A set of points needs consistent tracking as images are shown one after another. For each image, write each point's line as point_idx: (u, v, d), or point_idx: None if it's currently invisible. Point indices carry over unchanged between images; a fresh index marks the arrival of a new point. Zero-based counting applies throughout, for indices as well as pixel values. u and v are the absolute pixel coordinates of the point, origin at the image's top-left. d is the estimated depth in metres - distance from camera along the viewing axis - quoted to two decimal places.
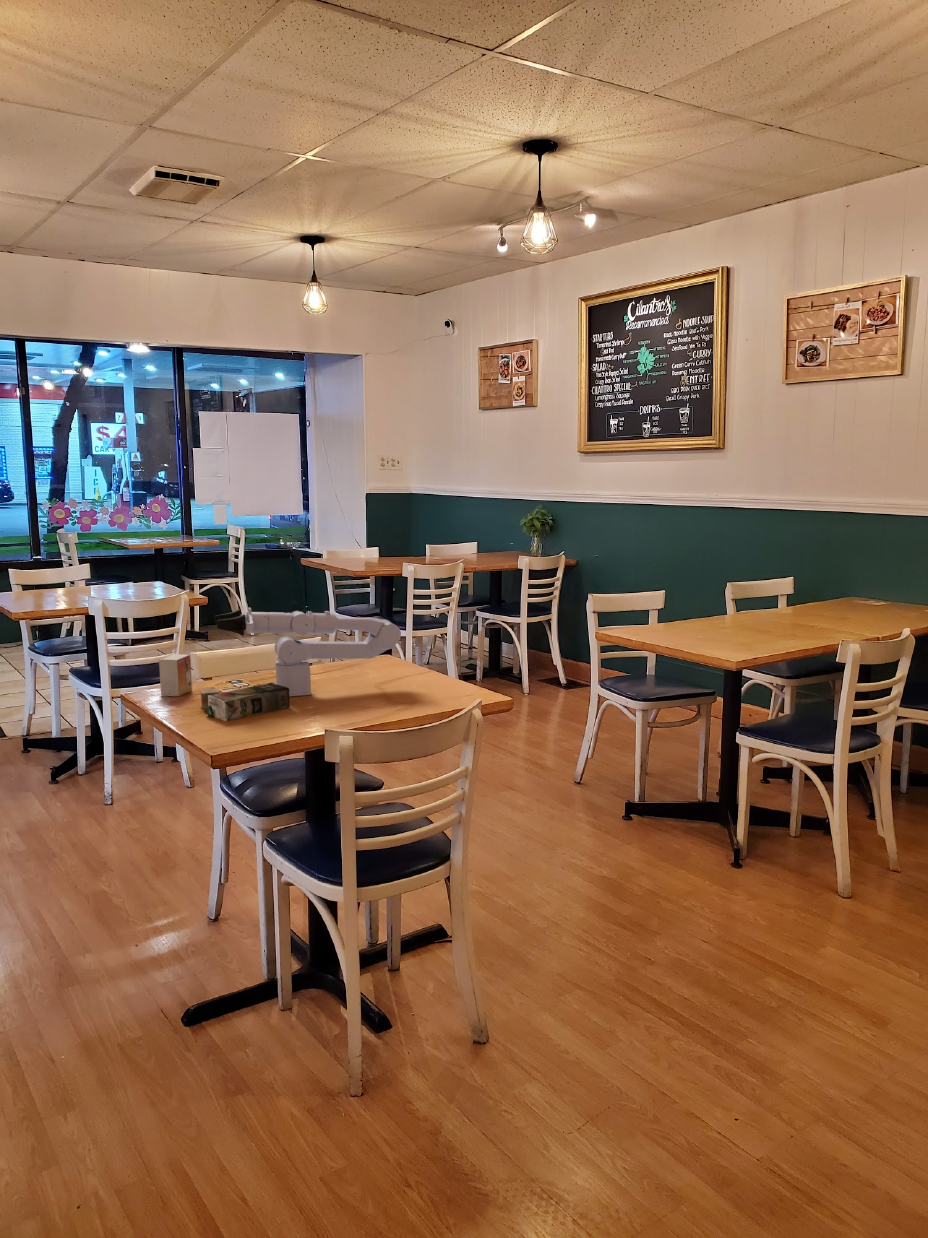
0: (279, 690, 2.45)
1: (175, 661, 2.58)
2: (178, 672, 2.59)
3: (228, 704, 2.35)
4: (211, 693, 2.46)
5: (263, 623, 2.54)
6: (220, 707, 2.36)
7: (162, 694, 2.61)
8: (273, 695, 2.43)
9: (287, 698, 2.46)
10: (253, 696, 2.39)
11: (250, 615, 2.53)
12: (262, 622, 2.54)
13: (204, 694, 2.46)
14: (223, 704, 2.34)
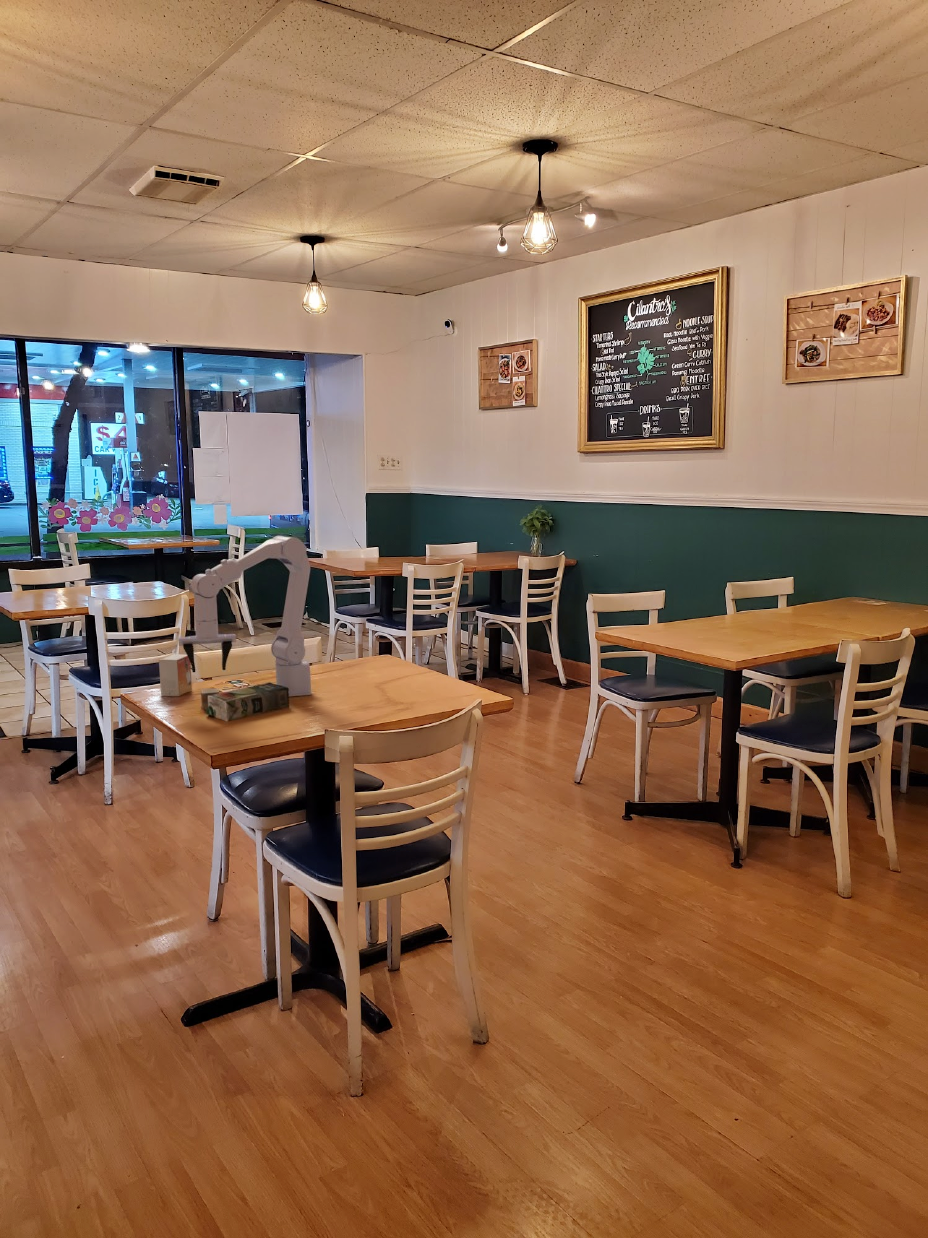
0: (279, 690, 2.45)
1: (175, 661, 2.58)
2: (178, 672, 2.59)
3: (229, 704, 2.35)
4: (211, 693, 2.46)
5: (217, 624, 2.46)
6: (221, 707, 2.36)
7: (162, 694, 2.61)
8: (273, 695, 2.44)
9: (287, 698, 2.47)
10: (254, 696, 2.40)
11: (217, 638, 2.44)
12: (217, 624, 2.46)
13: (204, 694, 2.46)
14: (224, 704, 2.34)
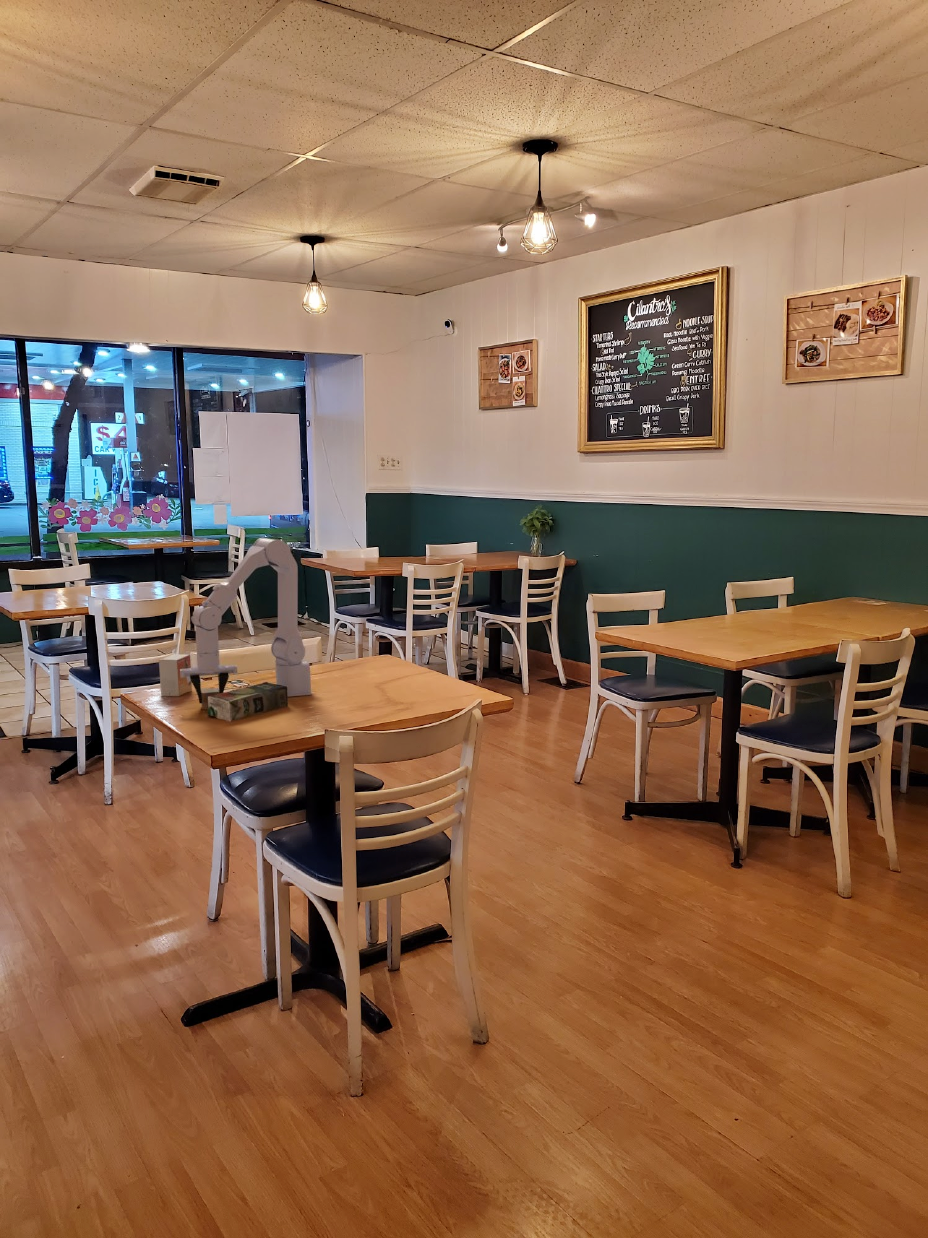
0: (278, 689, 2.46)
1: (175, 661, 2.58)
2: (178, 672, 2.59)
3: (232, 704, 2.35)
4: (211, 693, 2.46)
5: None
6: (224, 707, 2.35)
7: (162, 694, 2.61)
8: (273, 694, 2.44)
9: (285, 696, 2.48)
10: (255, 695, 2.40)
11: (219, 670, 2.46)
12: None
13: (204, 694, 2.45)
14: (227, 704, 2.34)
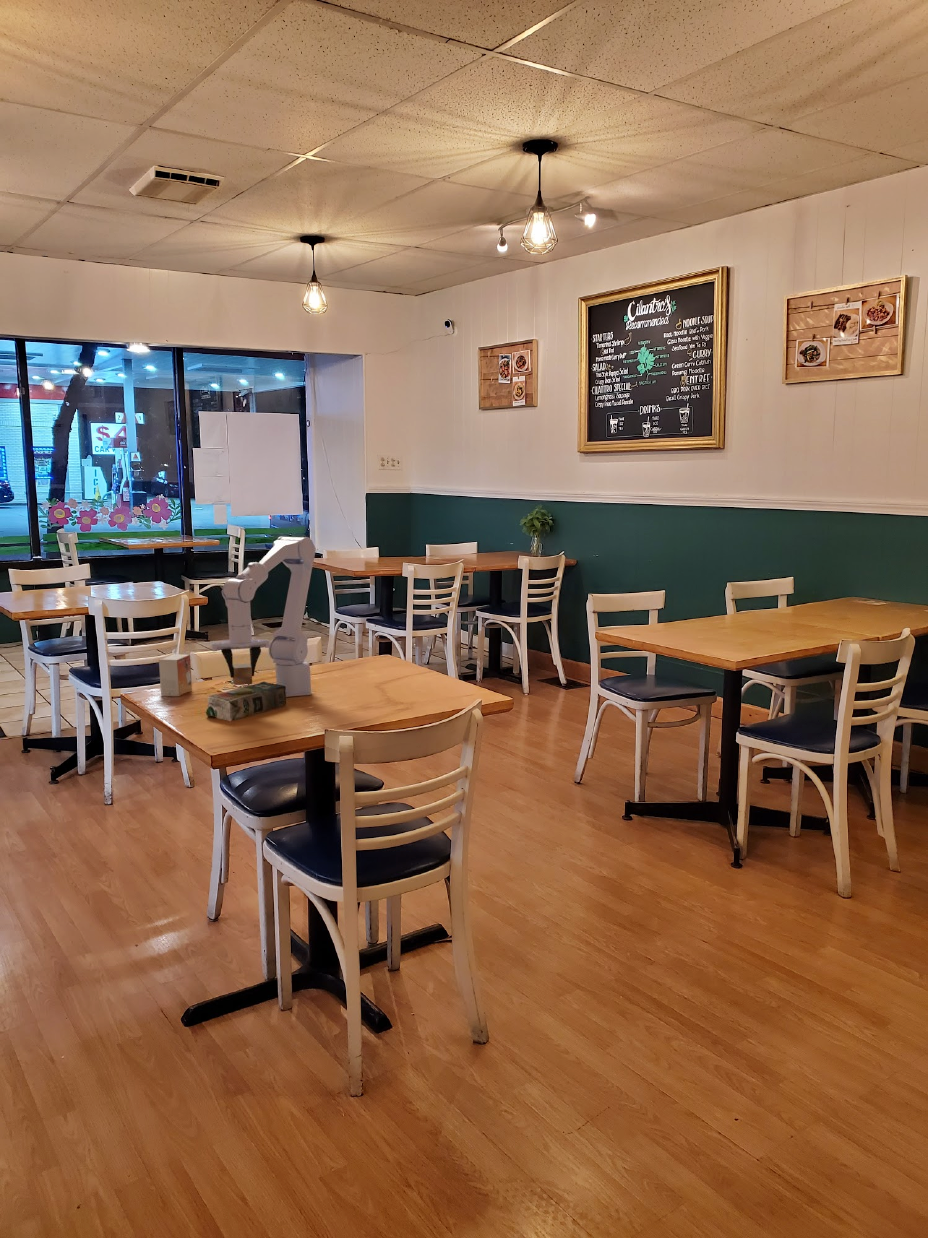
0: (277, 688, 2.47)
1: (175, 661, 2.58)
2: (178, 672, 2.59)
3: (232, 704, 2.35)
4: (243, 668, 2.42)
5: None
6: (223, 707, 2.36)
7: (162, 694, 2.61)
8: (272, 693, 2.45)
9: (284, 696, 2.49)
10: (254, 695, 2.41)
11: (251, 644, 2.41)
12: None
13: (236, 669, 2.41)
14: (228, 704, 2.34)
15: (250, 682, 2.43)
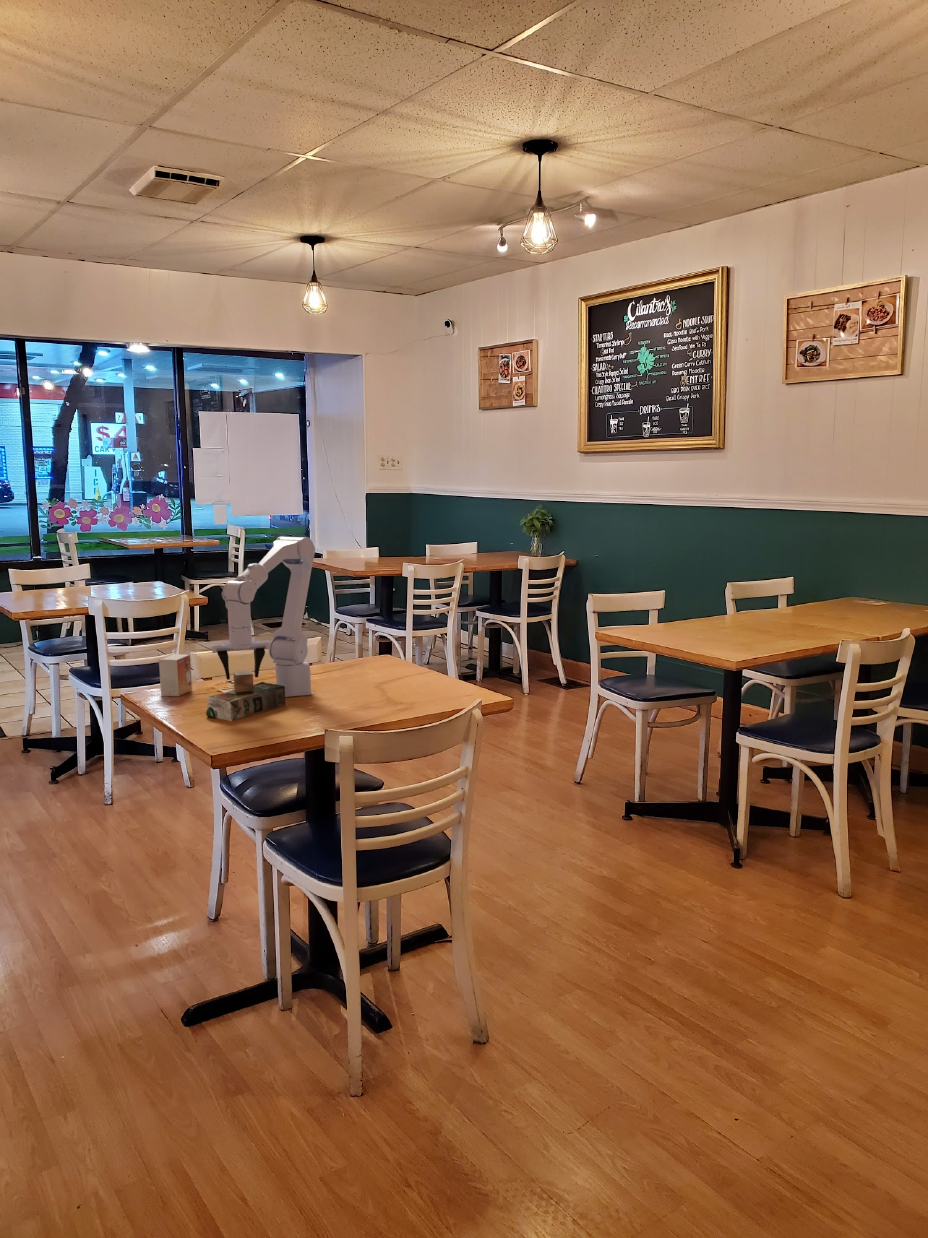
0: (276, 688, 2.47)
1: (175, 661, 2.58)
2: (178, 672, 2.59)
3: (233, 705, 2.35)
4: (244, 675, 2.42)
5: None
6: (224, 708, 2.36)
7: (162, 694, 2.61)
8: (271, 693, 2.45)
9: (283, 696, 2.49)
10: (254, 695, 2.41)
11: (251, 645, 2.41)
12: None
13: (237, 676, 2.41)
14: (228, 704, 2.34)
15: (251, 689, 2.43)
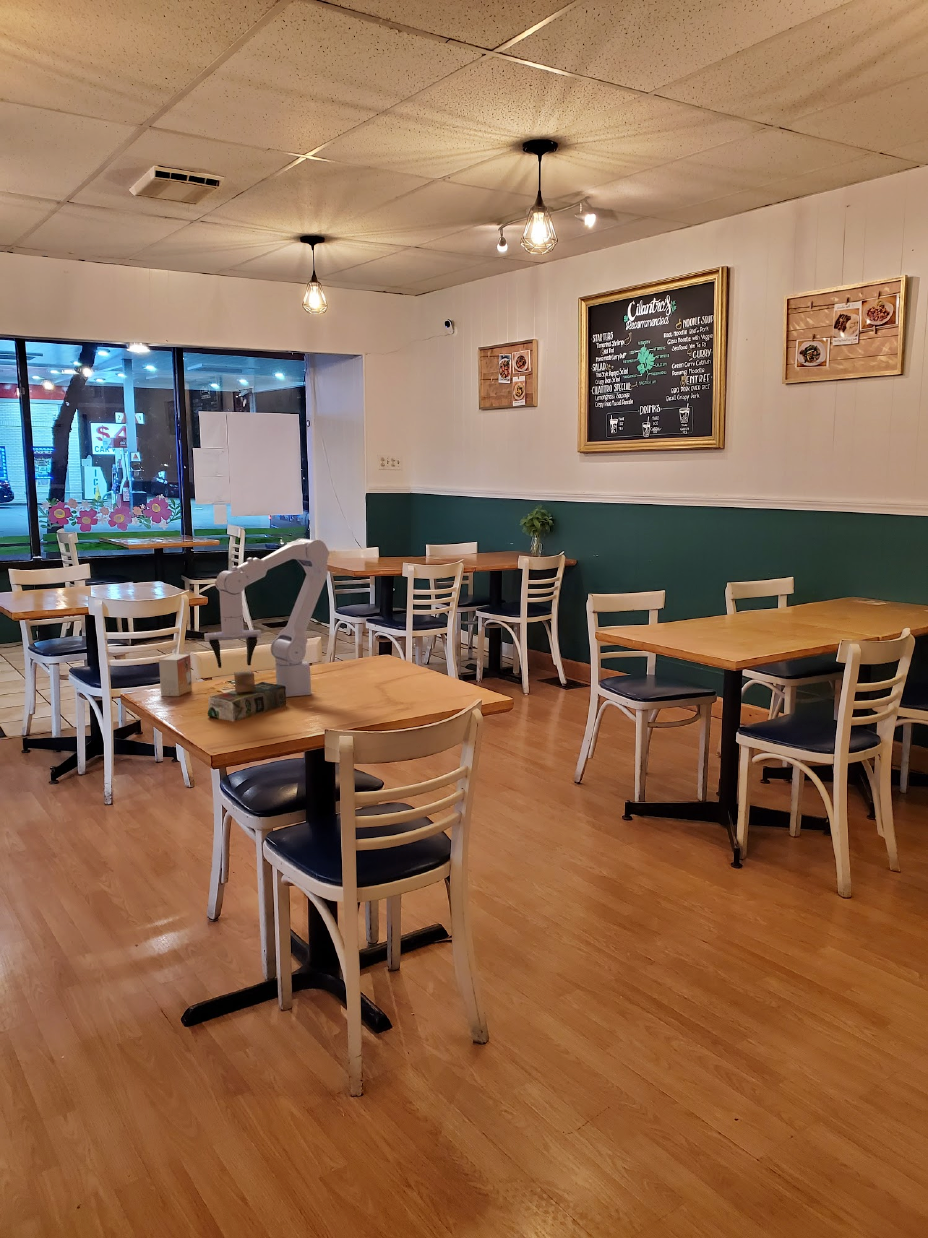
0: (277, 688, 2.47)
1: (175, 661, 2.58)
2: (178, 672, 2.59)
3: (235, 705, 2.35)
4: (246, 675, 2.42)
5: None
6: (226, 708, 2.35)
7: (162, 694, 2.61)
8: (273, 693, 2.45)
9: (284, 696, 2.49)
10: (256, 695, 2.41)
11: (243, 634, 2.48)
12: None
13: (239, 676, 2.41)
14: (230, 704, 2.34)
15: (253, 689, 2.43)
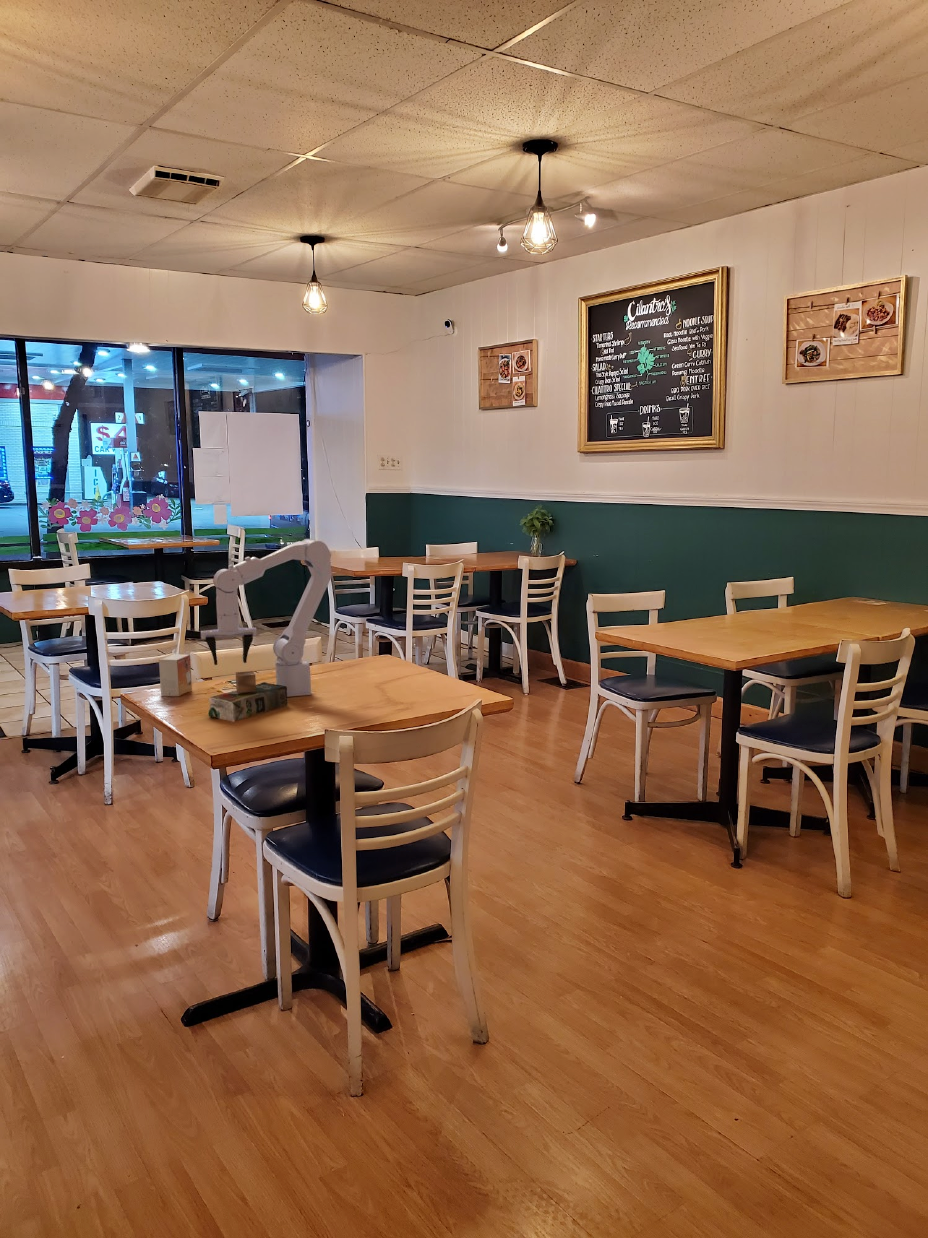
0: (278, 689, 2.47)
1: (175, 661, 2.58)
2: (178, 672, 2.59)
3: (235, 705, 2.35)
4: (247, 676, 2.41)
5: None
6: (226, 708, 2.35)
7: (162, 694, 2.61)
8: (274, 694, 2.45)
9: (285, 696, 2.49)
10: (257, 696, 2.40)
11: (239, 632, 2.51)
12: None
13: (240, 676, 2.41)
14: (231, 705, 2.34)
15: (254, 689, 2.43)
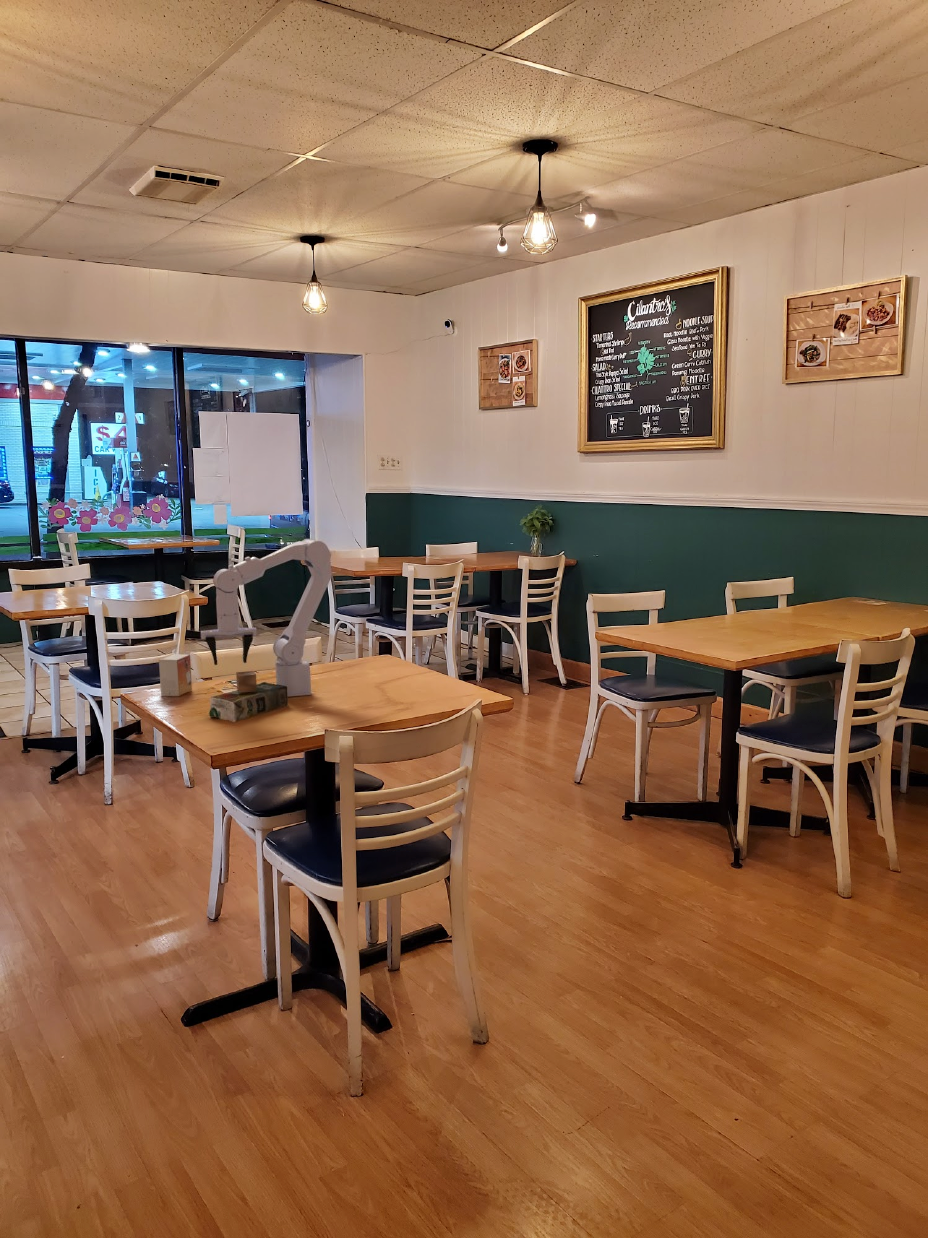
0: (279, 688, 2.47)
1: (175, 661, 2.58)
2: (178, 672, 2.59)
3: (236, 705, 2.35)
4: (248, 675, 2.41)
5: None
6: (227, 708, 2.35)
7: (162, 694, 2.61)
8: (274, 694, 2.45)
9: (286, 696, 2.49)
10: (257, 695, 2.40)
11: (239, 632, 2.51)
12: None
13: (241, 676, 2.41)
14: (232, 705, 2.34)
15: (255, 689, 2.43)
